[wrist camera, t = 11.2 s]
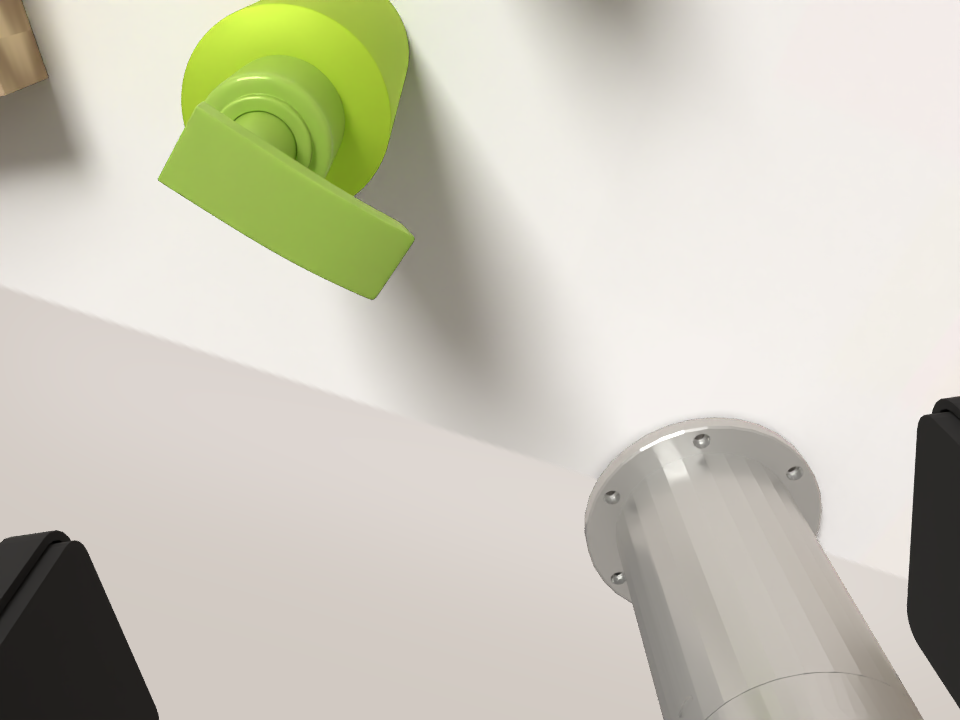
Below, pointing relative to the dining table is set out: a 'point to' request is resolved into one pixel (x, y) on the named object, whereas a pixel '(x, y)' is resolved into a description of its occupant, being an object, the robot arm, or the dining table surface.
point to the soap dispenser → (297, 132)
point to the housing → (18, 49)
